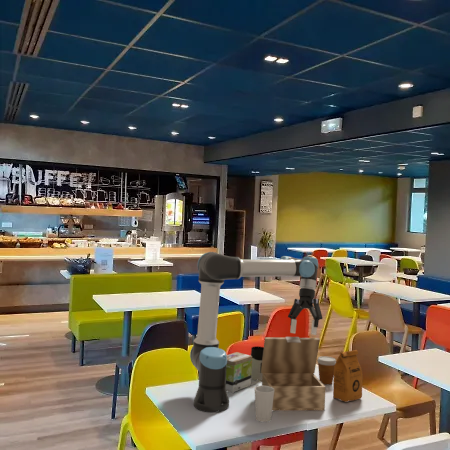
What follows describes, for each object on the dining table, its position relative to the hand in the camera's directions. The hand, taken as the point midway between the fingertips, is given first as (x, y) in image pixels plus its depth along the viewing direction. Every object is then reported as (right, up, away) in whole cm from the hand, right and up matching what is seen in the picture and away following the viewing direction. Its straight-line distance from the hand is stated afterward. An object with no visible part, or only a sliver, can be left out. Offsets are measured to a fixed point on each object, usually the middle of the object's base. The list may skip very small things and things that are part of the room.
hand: (302, 333), depth 220 cm
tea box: (-32, -27, +5) cm, 42 cm away
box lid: (-7, -10, -9) cm, 15 cm away
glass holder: (-18, -27, +18) cm, 37 cm away
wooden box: (-7, -28, -12) cm, 31 cm away
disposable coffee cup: (+14, -28, +16) cm, 36 cm away
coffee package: (+19, -29, -5) cm, 35 cm away
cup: (-21, -27, -31) cm, 46 cm away
